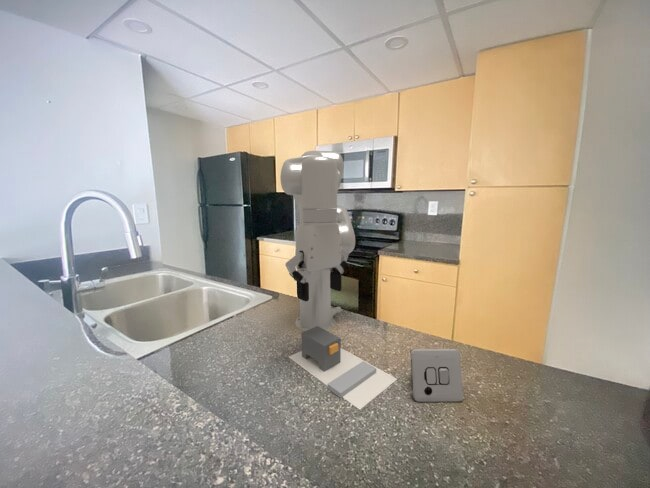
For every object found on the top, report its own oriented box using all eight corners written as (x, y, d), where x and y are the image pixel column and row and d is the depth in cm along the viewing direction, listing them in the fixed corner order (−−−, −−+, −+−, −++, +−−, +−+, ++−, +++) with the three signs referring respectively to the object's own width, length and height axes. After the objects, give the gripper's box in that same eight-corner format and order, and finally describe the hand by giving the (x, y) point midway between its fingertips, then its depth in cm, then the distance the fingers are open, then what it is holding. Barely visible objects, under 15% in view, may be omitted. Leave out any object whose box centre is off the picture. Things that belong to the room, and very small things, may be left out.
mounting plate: (325, 343, 70) (325, 335, 70) (397, 384, 54) (397, 374, 54) (286, 362, 62) (286, 353, 62) (357, 417, 46) (357, 405, 46)
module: (317, 348, 66) (317, 326, 65) (342, 363, 59) (342, 338, 58) (301, 356, 62) (301, 332, 61) (326, 373, 56) (326, 347, 55)
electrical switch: (414, 403, 49) (415, 355, 49) (405, 386, 54) (406, 343, 54) (463, 403, 49) (465, 354, 49) (450, 386, 54) (451, 343, 54)
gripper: (335, 216, 65) (335, 283, 67) (275, 218, 53) (278, 299, 55) (359, 216, 59) (358, 289, 61) (297, 219, 47) (299, 309, 50)
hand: (320, 294), depth 58 cm, fingers open, 9 cm apart
